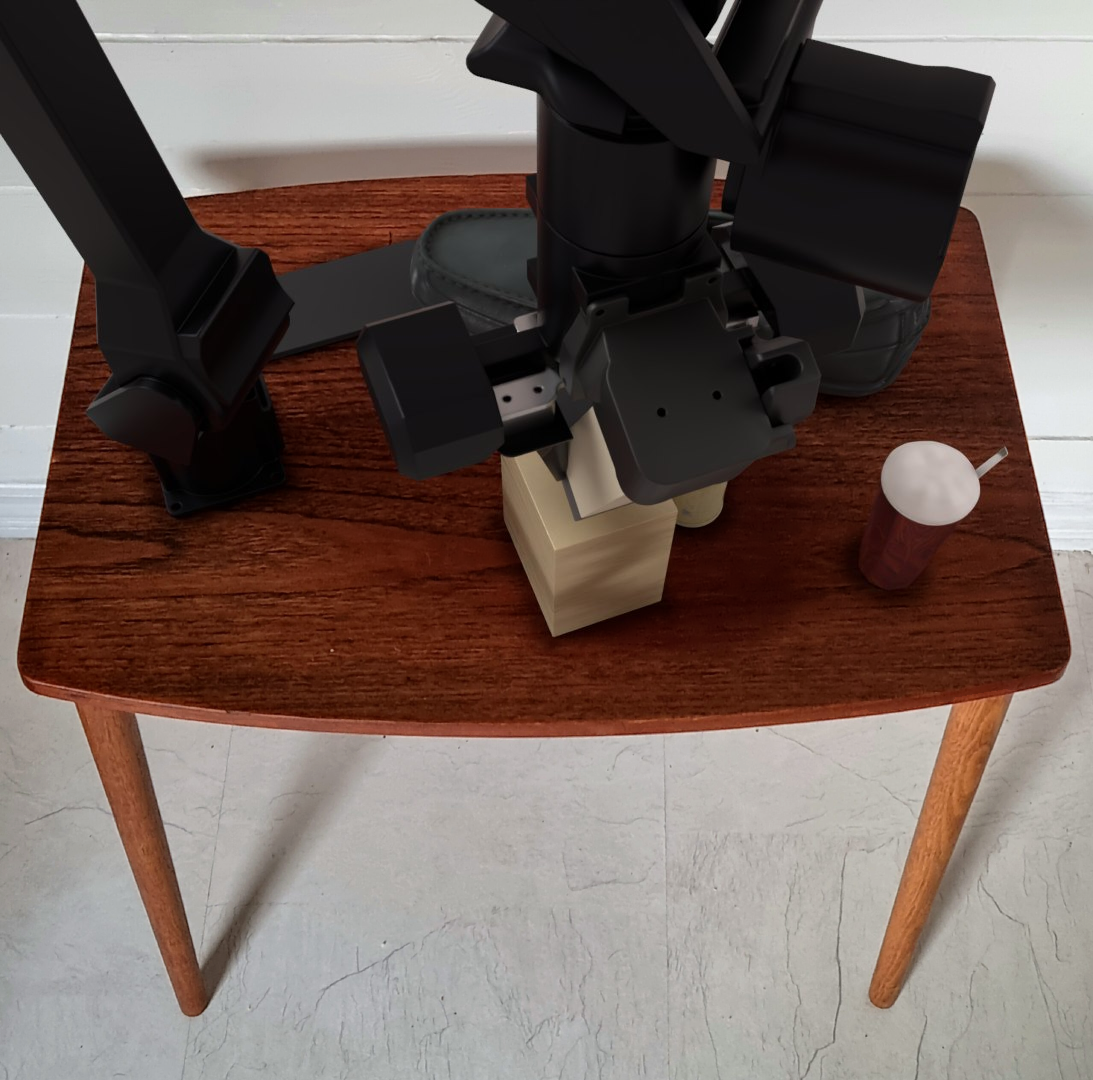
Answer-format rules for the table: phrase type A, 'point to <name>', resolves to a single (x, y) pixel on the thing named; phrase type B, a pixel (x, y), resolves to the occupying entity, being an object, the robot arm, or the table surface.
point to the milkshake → (917, 509)
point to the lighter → (700, 506)
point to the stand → (583, 548)
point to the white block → (588, 462)
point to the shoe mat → (346, 296)
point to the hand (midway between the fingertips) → (602, 458)
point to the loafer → (505, 293)
